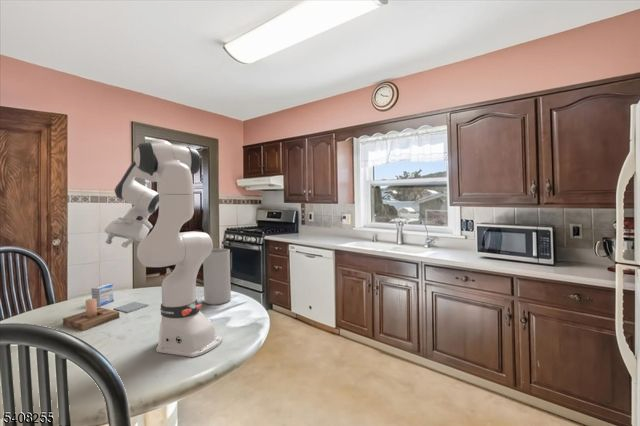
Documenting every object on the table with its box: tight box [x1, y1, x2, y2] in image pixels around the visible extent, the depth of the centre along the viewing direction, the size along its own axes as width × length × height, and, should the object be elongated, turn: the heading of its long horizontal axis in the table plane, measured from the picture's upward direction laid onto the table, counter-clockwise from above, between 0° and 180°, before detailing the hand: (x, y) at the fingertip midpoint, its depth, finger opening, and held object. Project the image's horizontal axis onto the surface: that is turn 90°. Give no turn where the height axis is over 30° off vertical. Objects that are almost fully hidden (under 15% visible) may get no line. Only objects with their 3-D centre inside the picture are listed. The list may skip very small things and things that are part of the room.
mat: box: [113, 301, 149, 314], centre depth 146 cm, size 10×10×1 cm
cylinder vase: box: [202, 248, 232, 306], centre depth 154 cm, size 12×12×25 cm
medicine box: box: [91, 283, 115, 307], centre depth 152 cm, size 8×4×9 cm, turn 168°
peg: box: [85, 298, 98, 319], centre depth 131 cm, size 4×4×9 cm
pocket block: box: [62, 306, 120, 332], centre depth 131 cm, size 14×14×2 cm
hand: (115, 245), depth 138 cm, fingers open, 8 cm apart
